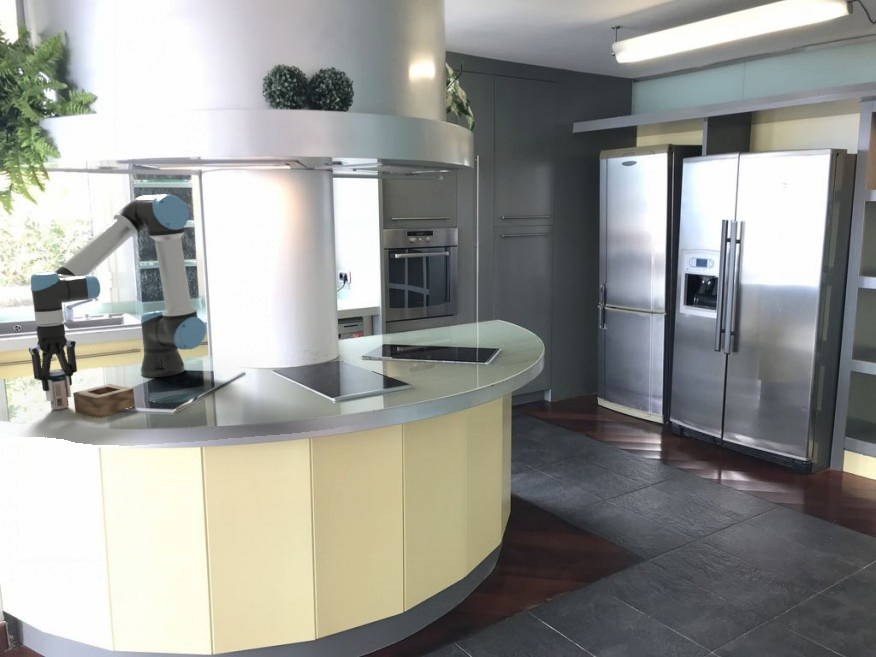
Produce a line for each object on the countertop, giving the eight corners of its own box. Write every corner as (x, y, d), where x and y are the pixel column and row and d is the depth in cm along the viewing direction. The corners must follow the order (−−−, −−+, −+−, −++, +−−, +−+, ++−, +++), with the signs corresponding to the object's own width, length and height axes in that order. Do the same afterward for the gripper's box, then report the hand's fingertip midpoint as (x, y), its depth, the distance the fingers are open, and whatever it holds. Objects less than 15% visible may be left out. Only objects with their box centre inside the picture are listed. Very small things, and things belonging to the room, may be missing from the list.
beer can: (72, 406, 224) (68, 369, 221) (60, 411, 219) (56, 372, 217) (59, 405, 225) (55, 368, 223) (47, 410, 220) (43, 372, 218)
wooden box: (111, 402, 228) (109, 383, 227) (135, 407, 221) (133, 388, 220) (75, 412, 218) (73, 392, 217) (99, 417, 211) (97, 398, 210)
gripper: (70, 318, 226) (79, 390, 231) (13, 327, 212) (23, 404, 216) (85, 320, 223) (93, 393, 227) (27, 329, 208) (37, 407, 212)
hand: (59, 398), depth 221 cm, fingers closed on beer can, 5 cm apart
